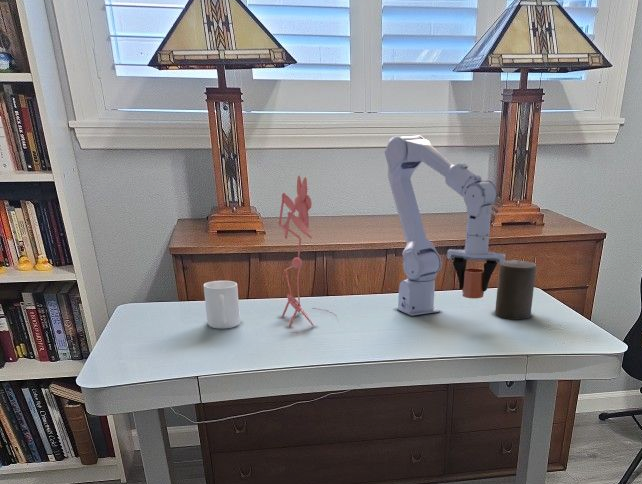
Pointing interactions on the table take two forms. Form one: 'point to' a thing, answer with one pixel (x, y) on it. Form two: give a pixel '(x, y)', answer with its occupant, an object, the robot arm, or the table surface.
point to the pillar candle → (515, 289)
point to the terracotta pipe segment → (473, 283)
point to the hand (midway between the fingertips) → (473, 289)
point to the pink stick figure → (302, 223)
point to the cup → (222, 304)
